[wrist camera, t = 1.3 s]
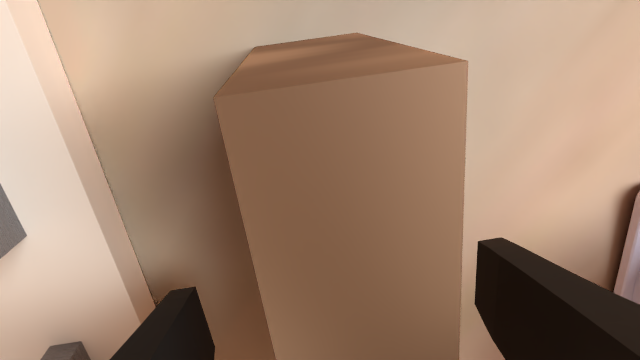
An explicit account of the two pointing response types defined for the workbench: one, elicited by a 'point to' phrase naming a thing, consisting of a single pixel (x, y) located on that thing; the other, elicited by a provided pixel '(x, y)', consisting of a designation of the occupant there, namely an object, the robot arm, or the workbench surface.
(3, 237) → the hinge clips
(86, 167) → the cabinet panel
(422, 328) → the brown wooden block
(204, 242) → the workbench surface
